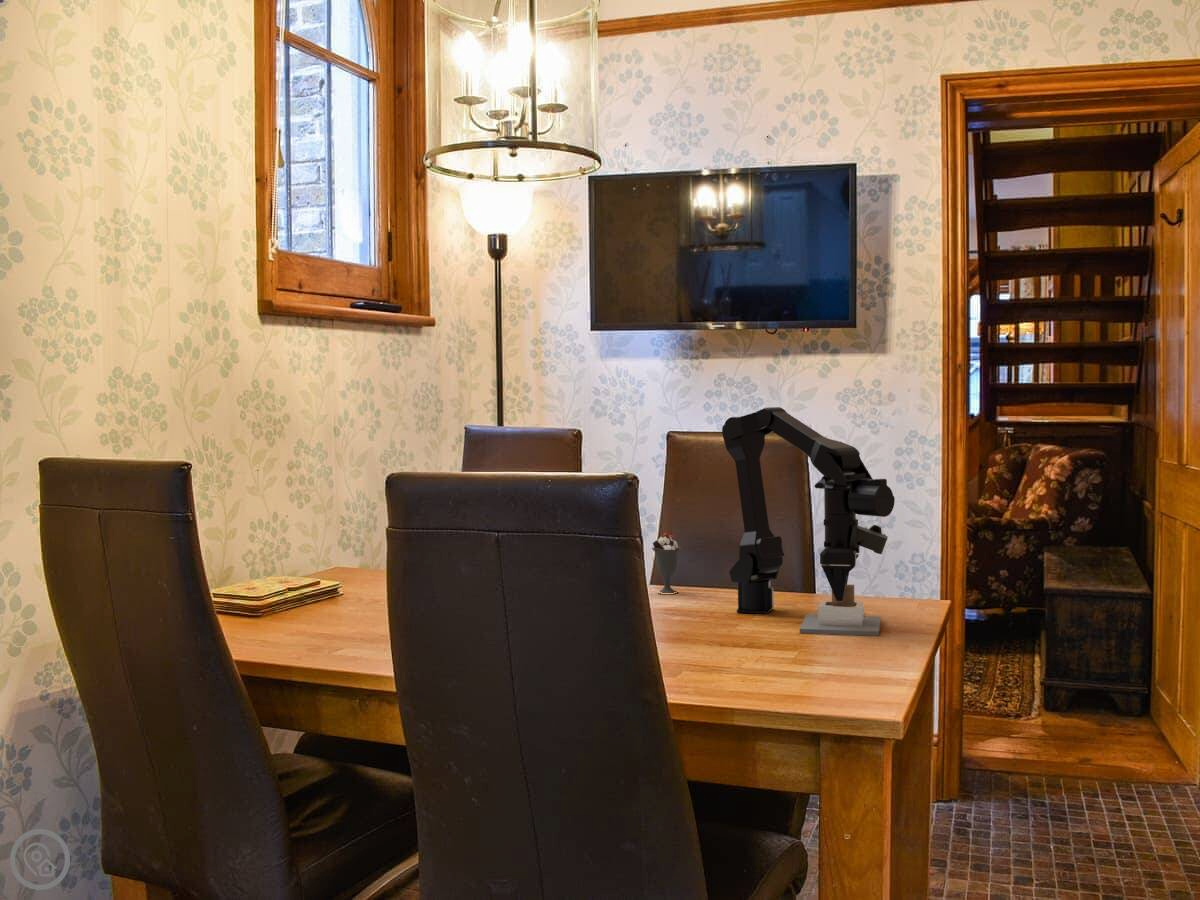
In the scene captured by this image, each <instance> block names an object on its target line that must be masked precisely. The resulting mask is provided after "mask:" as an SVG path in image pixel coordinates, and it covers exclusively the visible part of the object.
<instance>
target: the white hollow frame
mask: <svg viewBox="0 0 1200 900" xmlns="http://www.w3.org/2000/svg"><path fill="white" fill-rule="evenodd" d="M854 605H855V606H832V600H819V603H818V605H817V615H818V625H833V626H863V621H864V616H865V614H864V613H865V611H864V610H865V609H864V607H865V605H864V601H856V600H854Z"/></svg>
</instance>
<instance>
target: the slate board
mask: <svg viewBox="0 0 1200 900" xmlns="http://www.w3.org/2000/svg"><path fill="white" fill-rule="evenodd" d="M881 619H882V617H881V616H873V615H864V621H863V626H833V625H818V614H813V613H812V614H808V613H807V614H806V615H805V616H804V620H803V621H802V623H801V625H800V628H799V634H814V635H815V634H816V635H842V636H843V635H844V636H868V637H869V636H870V637H872V636H873V637H880V629H881Z"/></svg>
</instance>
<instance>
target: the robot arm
mask: <svg viewBox="0 0 1200 900" xmlns="http://www.w3.org/2000/svg"><path fill="white" fill-rule="evenodd" d="M721 433H722V438H723V442H724V446H725V448H726V451H727V453H728V454H729V455H730V456H731V458H732V459H733V460H734V463H735V469H736V478H737V483H738V491H739V492H738V493H739V498H740V506H741V513H742V515H741V516H742V522H743V528H744V529H743V530H744V532H743V536H742V538H741V541H740V543H739V554H738V555H739V557H738V558H739V559H738V560H737V561H736V562H735V564H734V565H733V566H732V567H731V568H730V569H729V571H728V572H729V573H728V574H729V576H730V580H731V582H733V583H737V606H738V607H737V609H736V613H739V614H740V613H741V614H742V613H747V614H749V613H750V614H769V613H770V612H771V610H773V608H774V607H775V605H774V603H775V602H774V587H773V586H771V580H777V577H778V575H779V571H780V568H781V566H783V563H784V562H783V557H785V553H784V551H783V550H784V549H783V539H782V537H781V536H780V535H779V536H778V535H777V536H775V535H774V533H773V532H772V531H771V529H770V524H769V517H768V512H767V511H768V509H767V504H766V503H767V502H766V496H765V495H766V494H765V489H764V482H763V474H762V467H761V461H760V460H761V456H762V453H763V450H764V448H765V445H766V437H765V436H768V435H769V434H772V433H774V434H776V435H777V436H778V437H780V438H782V439H783V440H784V441H786V442H788V443H789V444H790V445H792V446H793V447H795V448H796V449H798V450H799V451H800V452H802V453H804V454H805V455H806V456H807V457H809V459H810V462H811V464H812V466H813V467H814V468H815V469H816V470H817V471H818V472H819V473H821V475H822V477H821V478H820V480H818V481H817V482H816V483H815V484H814V488H815V489H821V490H823V491H824V493H823V498H824V501H823V502H824V512H823V513H824V519H823V526H824V541H823V549H822V550H821V551H820V553H819V562H820V563H819V564H820V566H821V568H822V570H823V573H824V574H825V577H826V579H827V582H828V584H829V586H830V589H831V592H832V591H833V593H834V596H835V598H836V600H837V601H842V600H843V596H844V590H845V585H848V580H849V575H850V572H852V570H853V569H855V567H856V564H857V559H858V558H859V556H860V555H859V554H860V551H861V548H860V547H862V548H865V549H867V550H870V551H873V553H875V554H878V555H882V554H883V551H884V549H885V546H886V543H887V541H888V538H889V537H888V536H887V535H886V534H884V533H883V530H882V527H881V526H879V525H877V524H872V525H871V526H870V527H869V528H868V527H864V526H861V525H859V519H857V515H858V516H868V517H882V518H886V517H888V516H890V514H891V513H892V511H893V509H894V507H895V496H894V494H893V490H892V489H891V487H889V486H888V481H887V479H886V478H876V479H875V478H873V477H872V475H871V474H870V472H869V469H868V468H867V467H866V466H865V464H864V462H863V460H862V459H861V456H860V455H861V453H860V451H859V450H858V449H857V448H856V447H855V446H852V445H850V444H848V443H846V442H845V443H844V442H842V441H839V440H836V439H831V438H828V437H825V436H823V435H822V434H820V433H819V432H817V431H816V430H814V429H812V428H811V427H809V426H808V425H806V424H805V423H803V422H802V421H800V420H799V419H797V418H796V417H794V416H793V415H791V414H790V413H789V412H787V411H786V410H785V409H784V408H782V407H780V406H777V407H775V406H774V407H770V406H769V407H768V406H767V407H764V408H761V409H760V410H758V411H754V412H752V413H747V414H745V415H743V416H732V417H728V418H727V419H726V421H725V423H724V424H723V425H722V428H721Z"/></svg>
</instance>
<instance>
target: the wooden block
mask: <svg viewBox="0 0 1200 900" xmlns="http://www.w3.org/2000/svg"><path fill="white" fill-rule="evenodd" d="M831 601H832V606H855V605H854V601H855V584H847V585H845V590H844V596H843V600H842V601H837V600H836V598H835V596H834V593H833V591H832V590H831Z"/></svg>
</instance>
